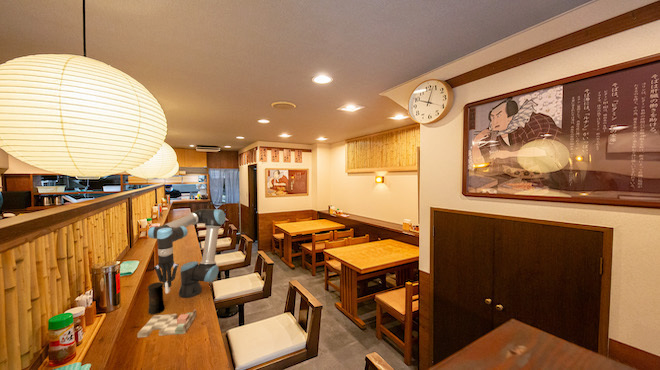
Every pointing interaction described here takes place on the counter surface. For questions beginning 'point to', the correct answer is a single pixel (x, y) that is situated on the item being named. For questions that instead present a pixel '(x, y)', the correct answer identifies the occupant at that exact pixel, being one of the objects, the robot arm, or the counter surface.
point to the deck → (166, 325)
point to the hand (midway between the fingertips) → (167, 292)
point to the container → (156, 298)
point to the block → (182, 318)
